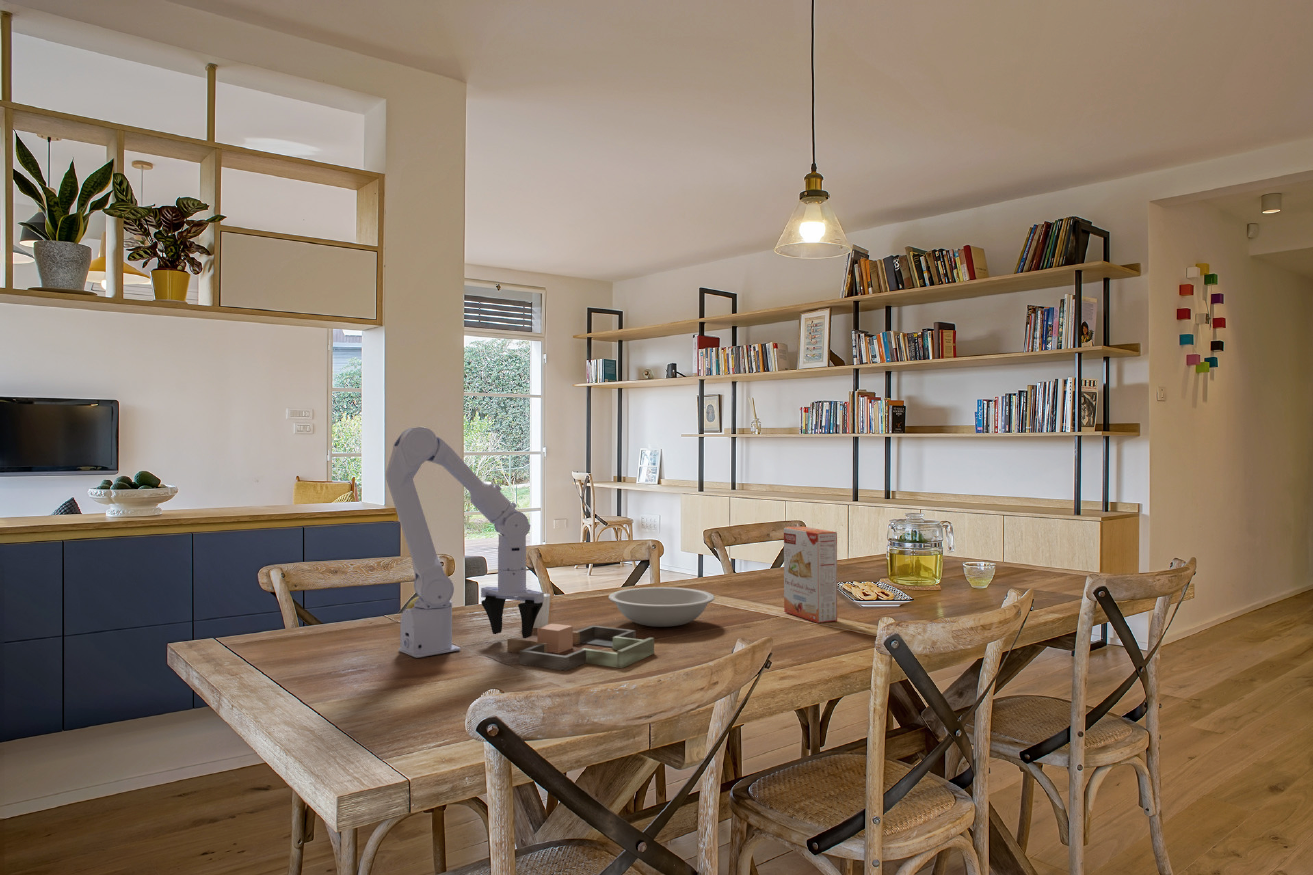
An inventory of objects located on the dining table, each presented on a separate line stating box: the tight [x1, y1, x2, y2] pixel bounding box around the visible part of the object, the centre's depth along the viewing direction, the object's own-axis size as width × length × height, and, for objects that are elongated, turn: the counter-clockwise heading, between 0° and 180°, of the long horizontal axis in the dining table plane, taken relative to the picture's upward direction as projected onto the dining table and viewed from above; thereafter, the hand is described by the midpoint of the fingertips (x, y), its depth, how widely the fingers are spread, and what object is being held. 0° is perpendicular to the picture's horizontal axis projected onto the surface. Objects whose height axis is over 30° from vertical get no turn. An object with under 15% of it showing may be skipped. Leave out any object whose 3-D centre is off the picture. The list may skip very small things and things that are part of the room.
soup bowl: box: [608, 586, 716, 628], centre depth 191 cm, size 24×24×7 cm
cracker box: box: [783, 525, 838, 624], centre depth 200 cm, size 14×6×21 cm, turn 25°
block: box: [536, 623, 574, 654], centre depth 168 cm, size 5×5×4 cm
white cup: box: [519, 592, 551, 628], centre depth 189 cm, size 7×7×7 cm
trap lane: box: [506, 625, 655, 672], centre depth 165 cm, size 26×25×3 cm
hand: (511, 635), depth 173 cm, fingers open, 7 cm apart
